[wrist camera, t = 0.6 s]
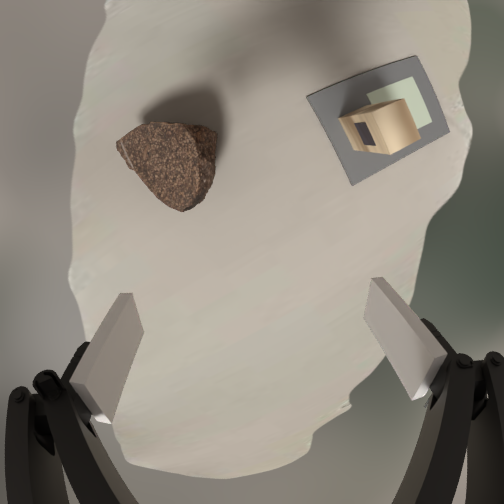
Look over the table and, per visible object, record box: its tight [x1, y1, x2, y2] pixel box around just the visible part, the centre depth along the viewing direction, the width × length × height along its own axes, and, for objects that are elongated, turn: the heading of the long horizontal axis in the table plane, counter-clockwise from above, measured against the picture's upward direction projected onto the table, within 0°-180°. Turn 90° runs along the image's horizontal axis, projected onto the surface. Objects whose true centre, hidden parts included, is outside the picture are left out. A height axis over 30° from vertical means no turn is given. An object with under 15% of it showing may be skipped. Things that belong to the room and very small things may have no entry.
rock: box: [116, 122, 217, 212], centre depth 29 cm, size 12×10×10 cm
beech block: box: [338, 98, 421, 155], centre depth 29 cm, size 5×5×10 cm
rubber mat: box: [306, 56, 450, 186], centre depth 32 cm, size 22×14×1 cm, turn 120°
